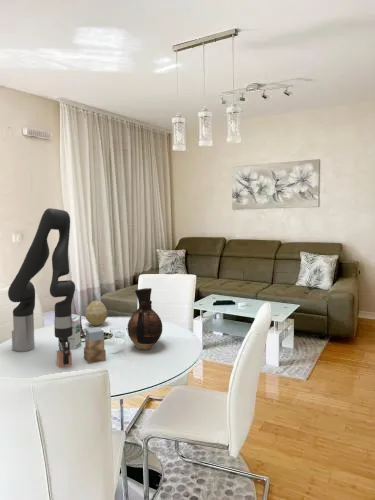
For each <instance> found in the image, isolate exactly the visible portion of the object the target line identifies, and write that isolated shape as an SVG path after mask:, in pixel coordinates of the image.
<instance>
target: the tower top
mask: <svg viewBox="0 0 375 500" xmlns="http://www.w3.org/2000/svg"><path fill="white" fill-rule="evenodd" d="M85 335H86V338H87V339H88V341H89V342H90V341H96V340H103V339H104V340H105V337H104V336H105V335H104V330H103V329H102V328H101V327H100V326H96V327H89V328H88V327H87V328H85Z"/></svg>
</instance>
